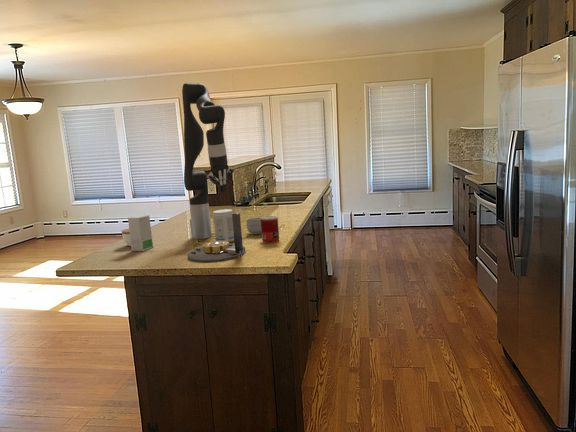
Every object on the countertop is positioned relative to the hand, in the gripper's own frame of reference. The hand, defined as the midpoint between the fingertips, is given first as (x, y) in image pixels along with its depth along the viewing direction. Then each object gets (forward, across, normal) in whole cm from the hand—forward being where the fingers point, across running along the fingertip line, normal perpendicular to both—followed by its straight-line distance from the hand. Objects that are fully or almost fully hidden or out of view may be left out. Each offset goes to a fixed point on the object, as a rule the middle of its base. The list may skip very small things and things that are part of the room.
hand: (222, 192), depth 200 cm
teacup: (+31, -24, -9) cm, 40 cm away
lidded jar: (+28, +28, -42) cm, 58 cm away
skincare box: (+26, +29, -30) cm, 49 cm away
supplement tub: (+28, -4, -10) cm, 30 cm away
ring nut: (+19, +11, +14) cm, 26 cm away
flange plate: (+22, +13, +10) cm, 27 cm away
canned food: (+27, -17, +9) cm, 33 cm away
